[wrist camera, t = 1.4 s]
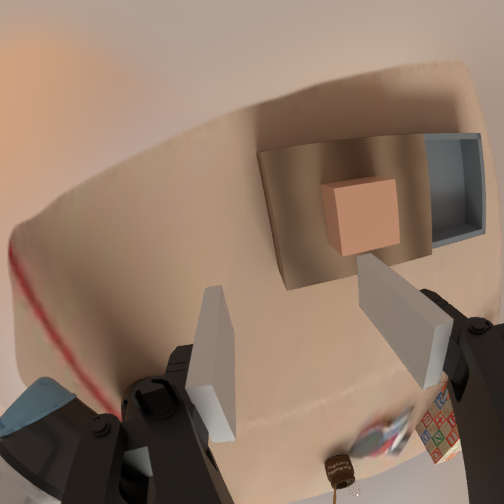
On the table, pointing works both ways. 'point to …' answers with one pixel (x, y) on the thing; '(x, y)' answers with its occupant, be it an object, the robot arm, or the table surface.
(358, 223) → the salmon orange block
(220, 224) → the table surface
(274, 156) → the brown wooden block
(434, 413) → the stack of blocks
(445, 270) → the table surface
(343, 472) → the utensil holder
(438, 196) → the box
